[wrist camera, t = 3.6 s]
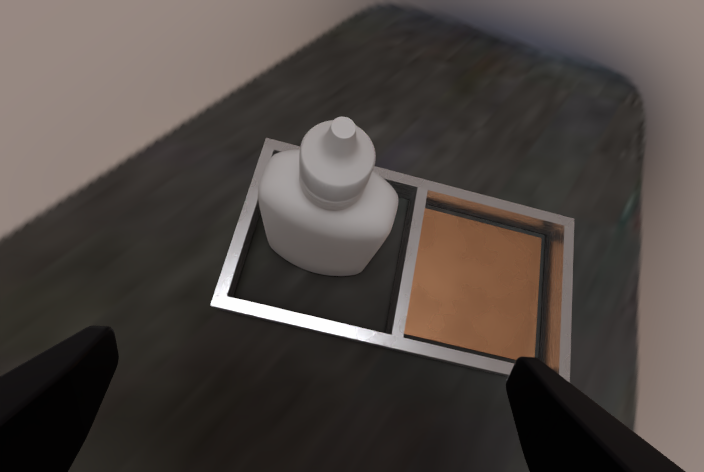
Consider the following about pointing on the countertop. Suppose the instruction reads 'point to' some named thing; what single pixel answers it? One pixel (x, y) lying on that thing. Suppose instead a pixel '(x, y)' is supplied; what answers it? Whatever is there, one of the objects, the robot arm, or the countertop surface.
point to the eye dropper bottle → (327, 201)
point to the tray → (447, 278)
